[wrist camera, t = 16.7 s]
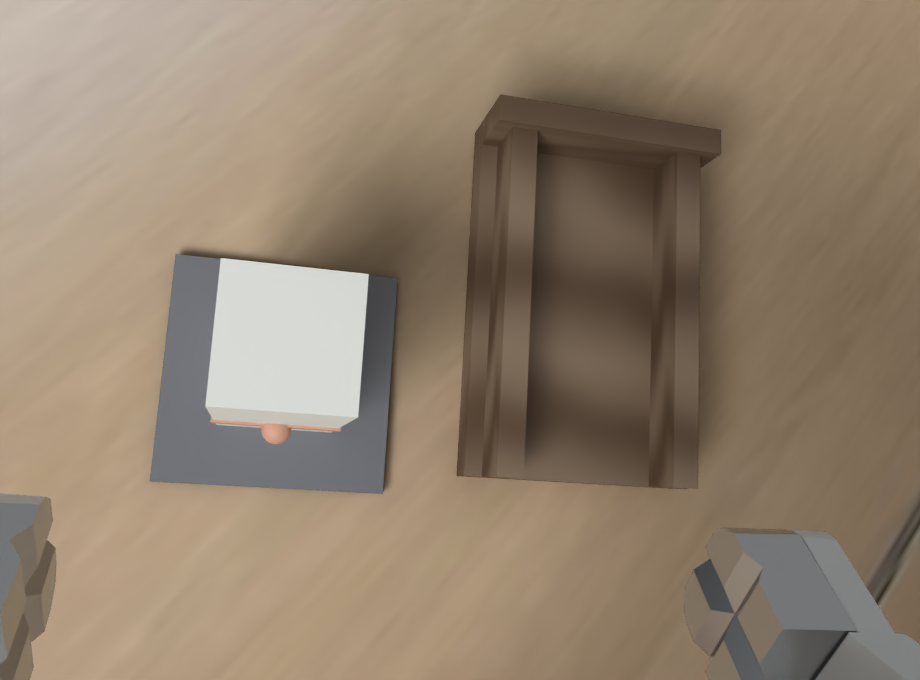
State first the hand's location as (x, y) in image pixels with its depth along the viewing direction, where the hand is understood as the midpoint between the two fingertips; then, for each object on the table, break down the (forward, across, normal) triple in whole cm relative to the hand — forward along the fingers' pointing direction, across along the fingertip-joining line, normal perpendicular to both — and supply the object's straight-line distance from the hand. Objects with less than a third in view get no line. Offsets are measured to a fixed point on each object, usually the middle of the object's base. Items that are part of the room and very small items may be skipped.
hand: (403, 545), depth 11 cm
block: (+24, +1, +16) cm, 29 cm away
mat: (+24, +1, +17) cm, 30 cm away
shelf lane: (+28, -13, +14) cm, 33 cm away
